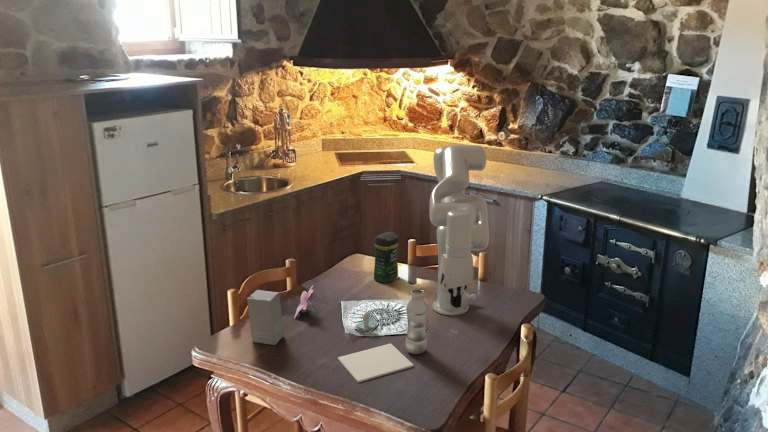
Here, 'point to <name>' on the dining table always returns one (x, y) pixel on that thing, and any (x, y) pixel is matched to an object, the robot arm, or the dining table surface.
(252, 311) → the skincare box
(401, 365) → the mat
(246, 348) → the dining table surface
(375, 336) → the dining table surface
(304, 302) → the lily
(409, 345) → the plastic bottle
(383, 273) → the coffee jar
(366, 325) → the pacifier
